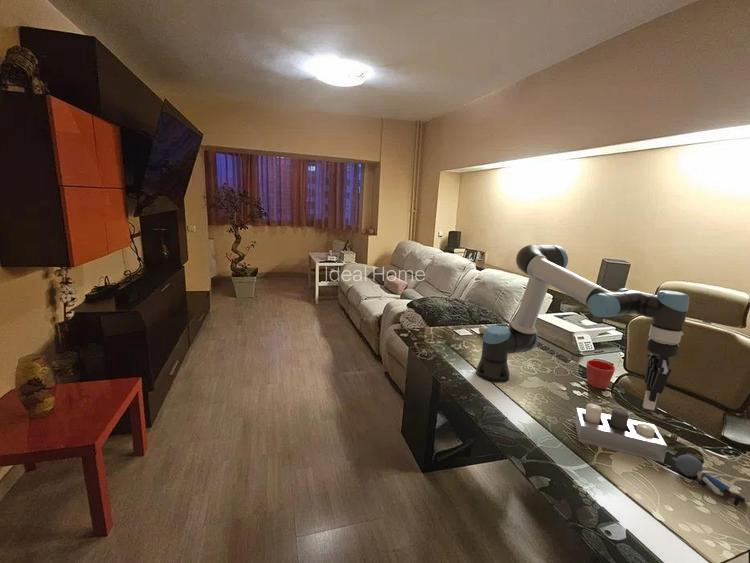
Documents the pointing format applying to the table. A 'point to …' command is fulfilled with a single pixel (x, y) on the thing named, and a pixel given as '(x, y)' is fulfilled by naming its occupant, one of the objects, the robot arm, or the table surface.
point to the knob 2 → (645, 430)
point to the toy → (704, 476)
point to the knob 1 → (593, 414)
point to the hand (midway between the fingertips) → (648, 408)
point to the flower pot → (599, 373)
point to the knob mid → (619, 419)
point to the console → (620, 437)
